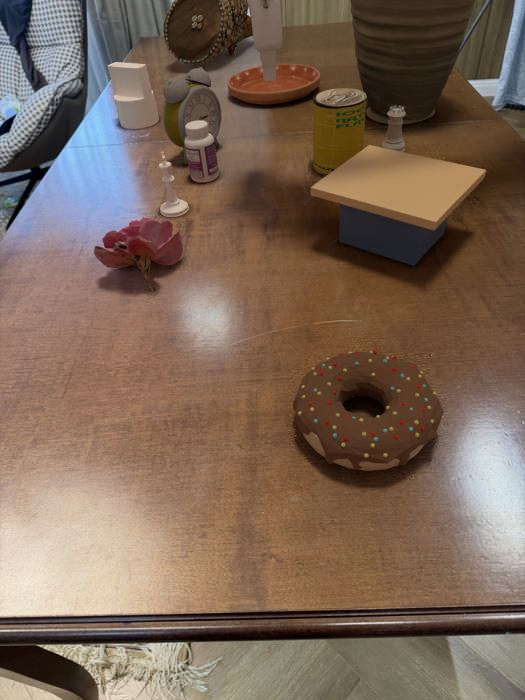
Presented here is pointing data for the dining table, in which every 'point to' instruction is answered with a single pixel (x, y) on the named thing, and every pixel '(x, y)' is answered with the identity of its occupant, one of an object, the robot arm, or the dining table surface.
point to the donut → (359, 431)
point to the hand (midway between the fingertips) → (268, 70)
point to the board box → (396, 200)
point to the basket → (205, 28)
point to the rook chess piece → (395, 130)
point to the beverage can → (337, 127)
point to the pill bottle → (201, 152)
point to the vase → (407, 52)
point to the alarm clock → (190, 106)
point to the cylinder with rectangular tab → (133, 95)
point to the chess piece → (171, 193)
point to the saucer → (274, 84)
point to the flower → (141, 245)
